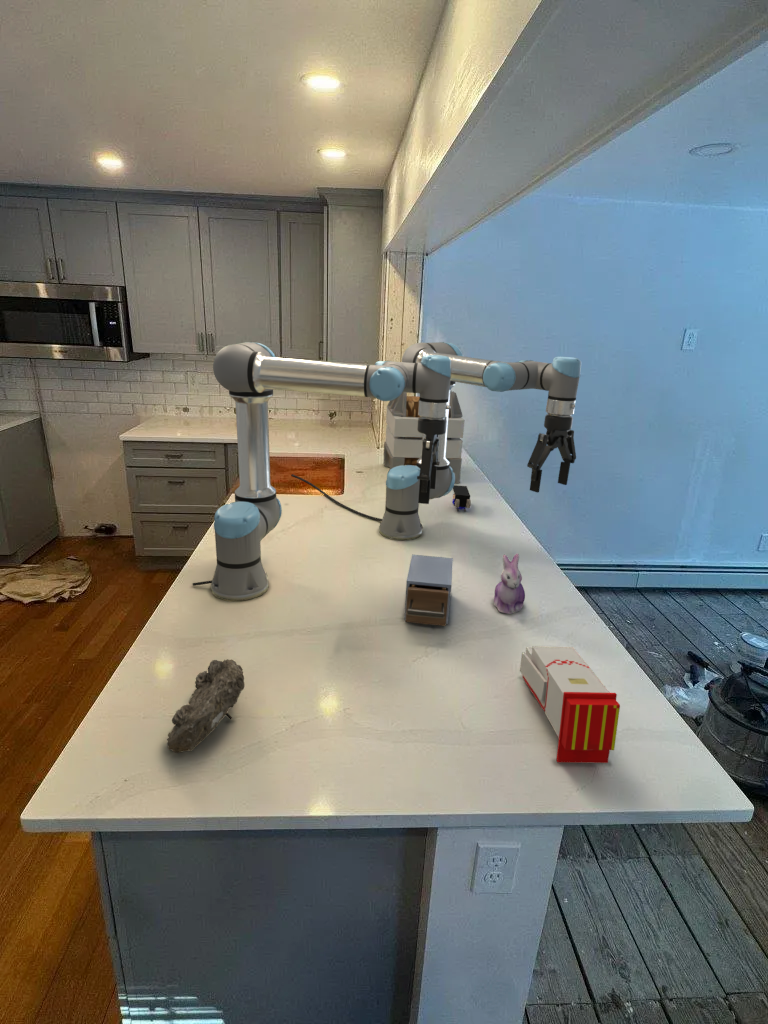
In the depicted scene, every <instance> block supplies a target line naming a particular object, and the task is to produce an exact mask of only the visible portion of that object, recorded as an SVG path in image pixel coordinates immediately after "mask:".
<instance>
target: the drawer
mask: <svg viewBox="0 0 768 1024" xmlns="http://www.w3.org/2000/svg"><path fill="white" fill-rule="evenodd" d="M448 594H449V591H446V587H436V586H425V585H415V584H412V587H408V593H407V609H406V620H405V623H413V624H422V625H423V624H424V625H433V626H441V627H446V625H447V624H446V616H447V605H448Z"/></svg>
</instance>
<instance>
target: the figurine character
mask: <svg viewBox="0 0 768 1024" xmlns="http://www.w3.org/2000/svg"><path fill="white" fill-rule="evenodd" d="M452 491H453V494H452V501H451V503H452V504H453V507H454V508H456V511H457V512H460V510H463V511H464V513H466V512H467V509H470V508H471V505H472V504H471V501H472V500H471V494H470V491H469V488H468V486H467V485H456V484H454V487H453V489H452ZM466 508H467V509H466Z"/></svg>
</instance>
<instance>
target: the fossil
mask: <svg viewBox="0 0 768 1024" xmlns="http://www.w3.org/2000/svg"><path fill="white" fill-rule="evenodd" d="M243 670H244V669H243V667H242V665H240V664H237V662H236V661H235V660H234V659H232V658H231V659H227V658H226V659H224V660H223V661H222V660H217V659H212V660H211V661H210V663H209V665H208V666H207V671H201V672H199V673H198V674H197V675H196V676H195V680H194V684H195V685H194V687H195V689H194V690H193V693H192V694H191V697H190V698H189V700H188V704H184V705H182V706H181V707H180V709H177V710H176V711H175V713H174V715H173V716H172V718H171V723H172V724H173V727H172V730H171V731H170V732H168V734H167V738H166V741H167V742H166V745H167V749H168V750H169V751H173V752H174V753H176V754H178V753H182V752H188V751H189V752H192V751H193V750H195V748H196V747H197V746H199V744H200V743H201V742H203V741H204V740H205V739H206V738H207V737H208V736H209V735H210V734H211V733H212V732H214V730H215V729H217V727H218V726H219V724H220V722H221V721H222V720H223V719H224V718H225V716H226V717H227V719H229V720H233V717H232V715H230V714H229V710H230V709H231V708H234V706H235V704H236V703H237V702H238V699H239V697H240V695H241V693H242V691H243V690H245V689H244V688H245V675H244V671H243Z"/></svg>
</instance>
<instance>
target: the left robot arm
mask: <svg viewBox="0 0 768 1024" xmlns="http://www.w3.org/2000/svg"><path fill="white" fill-rule="evenodd" d="M212 370H213V371H212V372H213V375H214V378H215V380H216V381H217V382H218V384H219V385H220V386H221V387H222V388H224V389H226V390H227V391H228V395H229V396H230V397H231V398H232V399H233V400H234V402H235V418H236V419H235V420H236V437H237V438H236V439H237V440H236V441H237V458H238V475H239V476H238V478H239V486H238V487H237V488H236V489H235V490H234V501H233V502H230V503H226V504H223V505H222V506H220V507H218V508H217V510H216V511H215V513H214V521H213V529H214V538H215V539H214V541H215V551H216V552H215V555H216V566H215V569H214V573H213V577H212V579H211V580H204V581H197V582H193V583H192V586H193V587H196V586H203V585H209V584H211V585H210V588H211V593H212V594H213V595H214V596H215V597H216V598H219V599H221V600H223V601H229V602H230V601H231V602H242V601H249V600H253V599H255V598H258V597H260V596H262V595H264V594H265V593H266V592H267V591H268V589H269V579H268V577H269V576H268V573H267V572H266V570H265V568H264V566H263V563H262V556H261V555H262V551H261V542H262V540H263V539H264V538H265V537H266V536H267V535H268V534H270V532H271V531H273V530H274V529H275V528H276V526H277V525H278V524H279V522H280V520H281V517H282V512H283V509H282V503H281V501H280V499H279V498H278V497H277V489H276V488H275V487H274V486H272V483H271V460H270V459H271V458H270V457H271V456H270V427H269V426H270V425H269V423H270V422H269V400H270V399H271V398H273V396H274V391H287V392H297V393H298V392H299V393H312V394H324V395H325V394H326V395H337V396H338V395H339V396H350V397H362V398H363V397H364V398H369V399H370V398H371V399H377V400H378V401H381V402H389V401H391V400H394V399H396V398H397V397H399V396H400V395H401V394H402V392H405V393H407V394H408V393H410V394H419V396H418V397H419V408H418V415H419V416H420V417H419V418H418V428H417V430H418V432H420V433H422V434H425V435H426V438H424V440H423V443H422V445H423V449H422V459H421V467H420V475H419V476H417V479H420V485H419V500H418V503H419V504H425V505H429V504H430V499H429V496H430V489H435V484H436V471H437V466H435V465H438V466H439V464H440V462H437V461H438V445H439V439H438V435H442V434H444V433H446V427H447V420H446V419H445V418H446V417H447V412H448V410H447V409H450V406H448V405H447V404H448V400H449V390H450V380H451V360H450V358H449V357H446V356H439V355H425V356H423V357H422V361H421V363H406V362H402V361H392V360H378V361H376V362H375V363H374V364H365V363H351V362H350V363H349V362H340V361H339V362H338V361H326V360H310V359H300V358H287V357H286V358H285V357H284V358H283V357H277V356H276V355H275V354H274V352H273V351H272V349H271V348H270V347H268V346H266V345H265V344H263V343H260V342H256V341H255V342H253V341H244V342H241V343H233V344H229V345H226V346H224V347H222V348H221V349H220V350H219V351H218V352H217V353H216V355H215V356H214V358H213V363H212ZM423 474H426V475H423Z"/></svg>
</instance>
